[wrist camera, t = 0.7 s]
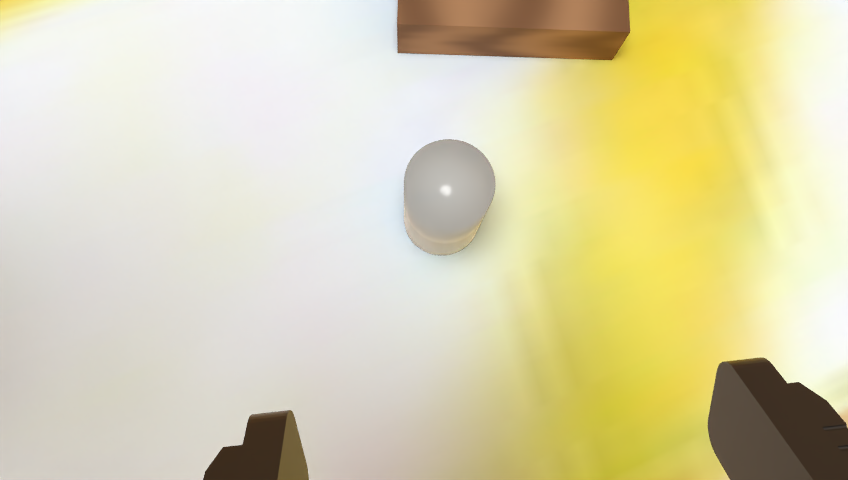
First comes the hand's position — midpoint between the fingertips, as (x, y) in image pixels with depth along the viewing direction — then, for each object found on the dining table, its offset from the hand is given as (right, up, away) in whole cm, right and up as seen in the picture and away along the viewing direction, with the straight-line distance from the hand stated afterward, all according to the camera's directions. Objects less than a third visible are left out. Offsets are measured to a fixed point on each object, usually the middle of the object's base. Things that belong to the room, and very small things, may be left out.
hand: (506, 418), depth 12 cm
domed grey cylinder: (0, +5, +28) cm, 28 cm away
